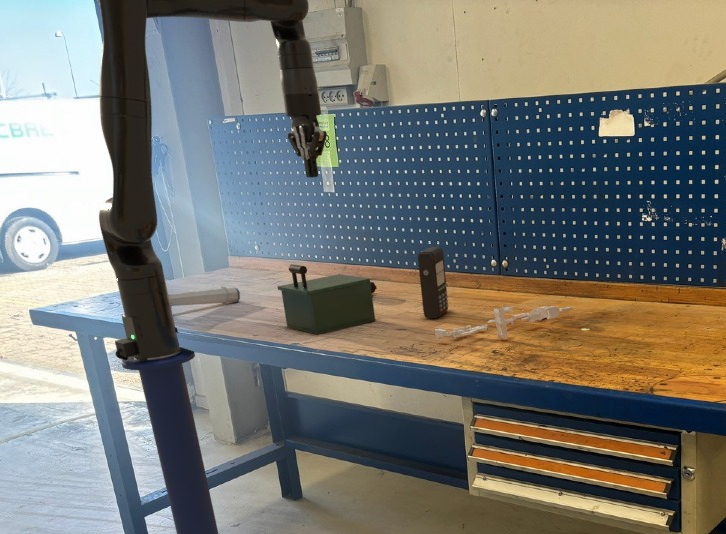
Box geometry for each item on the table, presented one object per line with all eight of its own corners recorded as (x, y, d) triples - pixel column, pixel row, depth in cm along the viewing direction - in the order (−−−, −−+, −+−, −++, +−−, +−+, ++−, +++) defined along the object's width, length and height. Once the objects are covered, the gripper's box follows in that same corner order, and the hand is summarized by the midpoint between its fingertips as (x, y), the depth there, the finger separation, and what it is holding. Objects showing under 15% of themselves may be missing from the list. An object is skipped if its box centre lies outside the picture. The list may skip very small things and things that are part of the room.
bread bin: (316, 334, 186) (310, 294, 183) (287, 327, 194) (281, 289, 191) (375, 320, 196) (370, 282, 193) (344, 314, 204) (339, 277, 201)
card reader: (439, 319, 193) (433, 252, 187) (422, 319, 193) (415, 252, 188) (450, 310, 201) (444, 246, 195) (434, 310, 202) (428, 246, 196)
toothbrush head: (241, 287, 226) (149, 291, 208) (242, 312, 228) (151, 319, 209) (230, 285, 229) (139, 290, 211) (231, 310, 231) (141, 317, 213)
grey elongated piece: (467, 350, 161) (423, 352, 169) (574, 322, 187) (532, 325, 195) (462, 316, 160) (417, 320, 168) (571, 292, 186) (528, 297, 193)
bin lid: (307, 295, 182) (303, 269, 180) (277, 289, 191) (273, 264, 189) (370, 282, 193) (367, 257, 191) (339, 277, 201) (336, 253, 199)
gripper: (269, 95, 184) (282, 178, 190) (301, 90, 175) (313, 178, 181) (299, 93, 189) (311, 175, 195) (332, 89, 180) (343, 175, 186)
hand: (312, 177), depth 188 cm, fingers closed
